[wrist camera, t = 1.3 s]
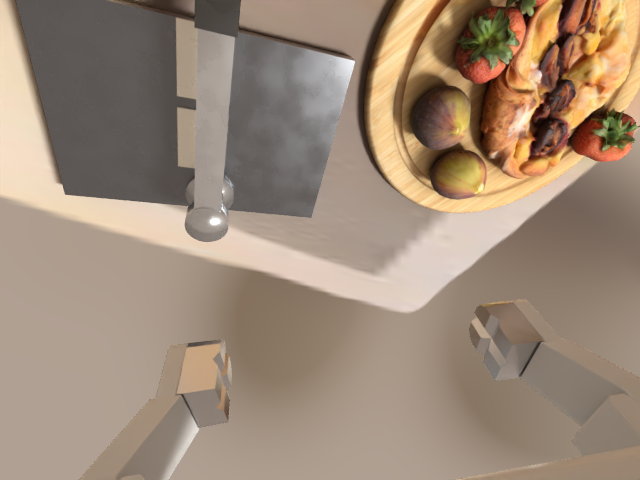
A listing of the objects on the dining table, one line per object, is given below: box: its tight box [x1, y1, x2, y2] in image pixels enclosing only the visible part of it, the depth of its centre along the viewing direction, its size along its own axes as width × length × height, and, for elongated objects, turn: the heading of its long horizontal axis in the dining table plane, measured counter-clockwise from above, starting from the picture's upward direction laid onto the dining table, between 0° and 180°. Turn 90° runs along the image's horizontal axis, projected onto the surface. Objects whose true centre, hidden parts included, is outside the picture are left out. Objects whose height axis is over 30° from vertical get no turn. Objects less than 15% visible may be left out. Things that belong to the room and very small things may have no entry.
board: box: [16, 0, 355, 218], centre depth 32 cm, size 18×26×5 cm
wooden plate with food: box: [364, 0, 640, 213], centre depth 34 cm, size 32×32×8 cm
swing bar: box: [185, 0, 241, 242], centre depth 28 cm, size 21×4×2 cm, turn 166°
